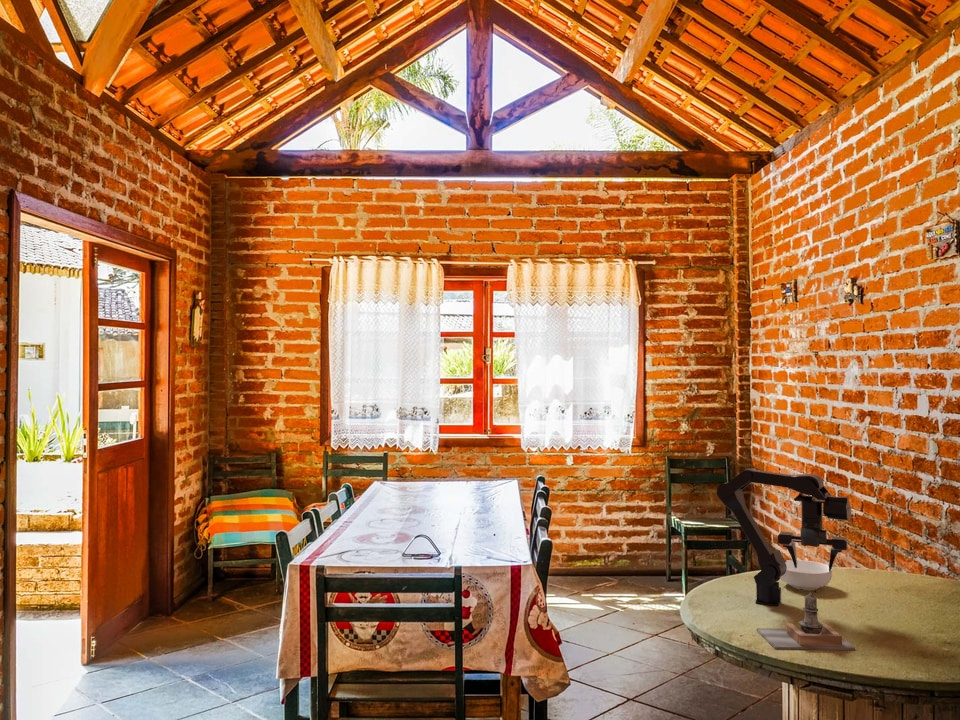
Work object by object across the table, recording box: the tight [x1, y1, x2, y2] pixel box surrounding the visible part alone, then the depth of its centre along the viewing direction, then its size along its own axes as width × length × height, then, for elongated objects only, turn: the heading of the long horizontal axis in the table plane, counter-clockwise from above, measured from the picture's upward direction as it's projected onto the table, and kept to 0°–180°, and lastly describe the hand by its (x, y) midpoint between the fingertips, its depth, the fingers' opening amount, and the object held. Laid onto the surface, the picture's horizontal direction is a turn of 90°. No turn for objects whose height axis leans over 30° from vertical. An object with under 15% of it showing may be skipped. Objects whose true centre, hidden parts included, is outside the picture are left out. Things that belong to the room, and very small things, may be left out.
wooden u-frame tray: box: [756, 623, 856, 651], centre depth 194 cm, size 14×20×3 cm
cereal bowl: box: [780, 559, 833, 591], centre depth 244 cm, size 17×17×7 cm
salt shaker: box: [798, 591, 824, 634], centre depth 194 cm, size 6×6×12 cm
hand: (812, 569), depth 219 cm, fingers open, 9 cm apart
